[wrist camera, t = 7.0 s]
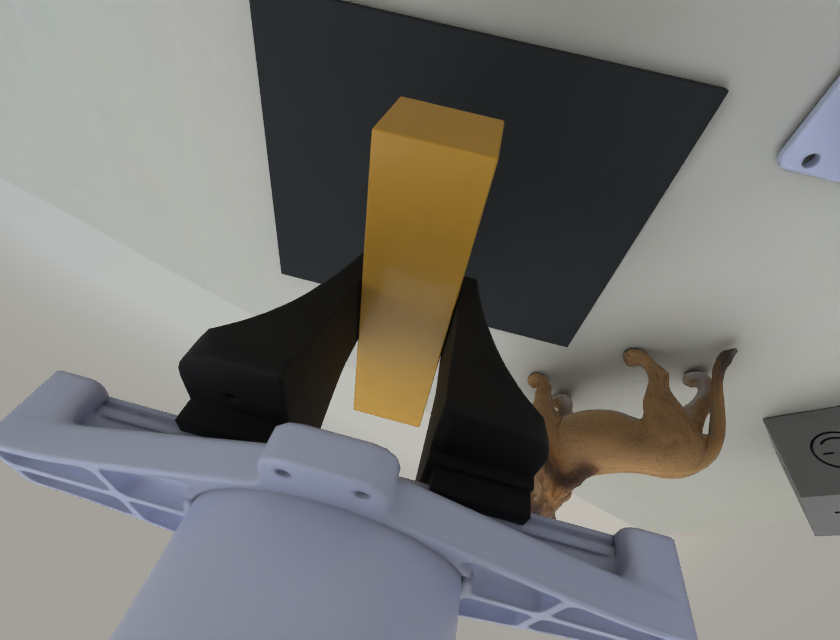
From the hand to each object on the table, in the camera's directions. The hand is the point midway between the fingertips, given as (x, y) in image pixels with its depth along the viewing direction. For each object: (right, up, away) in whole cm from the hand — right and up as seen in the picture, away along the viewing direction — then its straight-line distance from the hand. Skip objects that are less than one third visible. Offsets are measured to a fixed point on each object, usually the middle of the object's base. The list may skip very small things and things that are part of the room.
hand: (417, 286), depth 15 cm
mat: (+1, +5, +5) cm, 7 cm away
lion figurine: (+11, -5, +11) cm, 17 cm away
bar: (0, 0, 0) cm, 1 cm away
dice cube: (+25, -8, +10) cm, 28 cm away
